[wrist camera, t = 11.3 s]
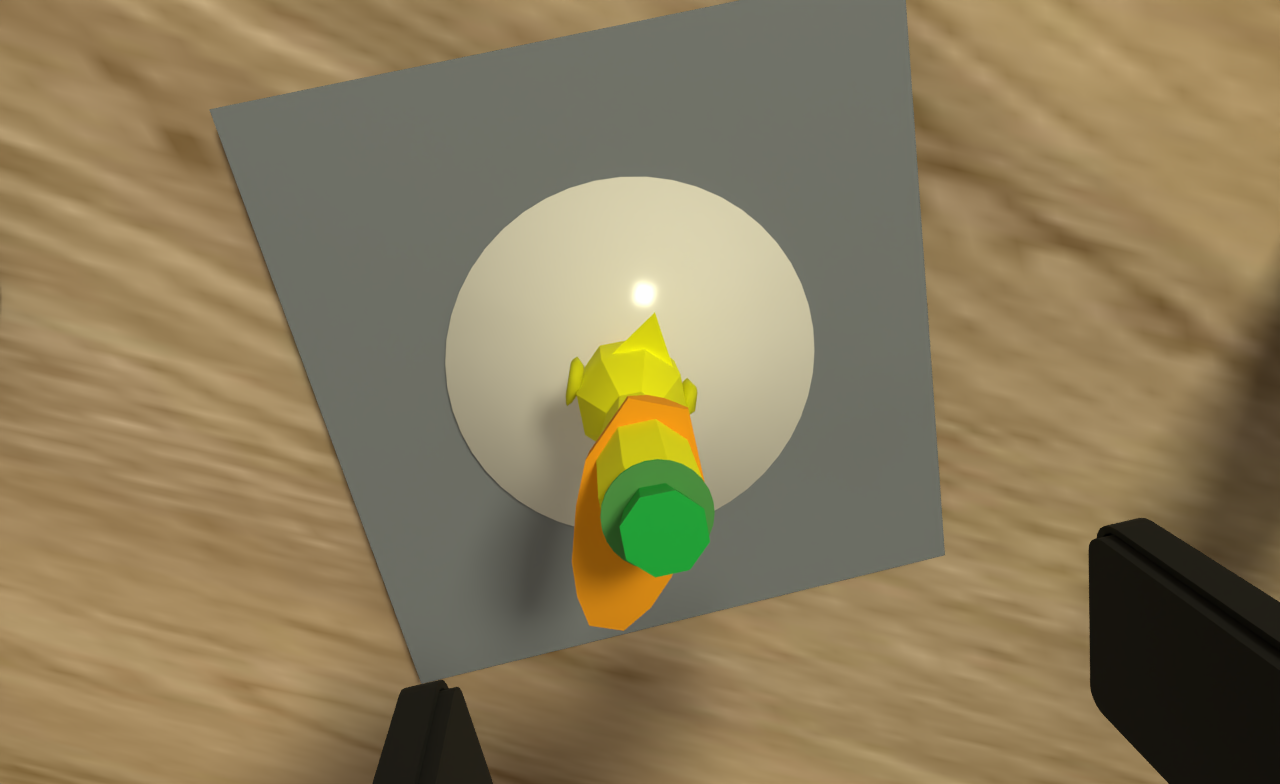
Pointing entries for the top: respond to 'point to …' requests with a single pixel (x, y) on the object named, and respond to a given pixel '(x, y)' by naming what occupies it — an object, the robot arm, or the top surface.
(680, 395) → the toy figure
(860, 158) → the slate tile
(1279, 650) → the robot arm
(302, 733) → the top surface
